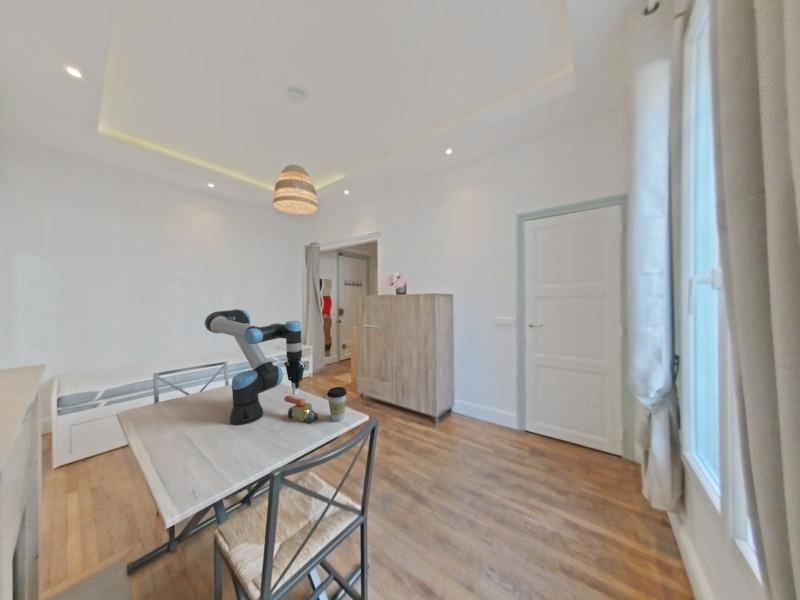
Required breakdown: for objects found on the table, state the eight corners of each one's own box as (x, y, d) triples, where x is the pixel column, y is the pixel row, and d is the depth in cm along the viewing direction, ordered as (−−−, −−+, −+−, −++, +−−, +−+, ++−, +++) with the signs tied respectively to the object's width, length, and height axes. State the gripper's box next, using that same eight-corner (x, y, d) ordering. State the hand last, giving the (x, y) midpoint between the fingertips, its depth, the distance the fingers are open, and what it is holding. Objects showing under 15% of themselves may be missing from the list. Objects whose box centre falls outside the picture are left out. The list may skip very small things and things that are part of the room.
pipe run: (287, 419, 141) (286, 404, 141) (295, 413, 147) (295, 400, 146) (310, 425, 135) (309, 410, 134) (318, 419, 140) (318, 405, 139)
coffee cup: (343, 424, 134) (342, 394, 133) (324, 422, 136) (323, 393, 135) (350, 414, 144) (349, 387, 143) (333, 413, 145) (332, 385, 145)
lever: (306, 404, 141) (306, 398, 141) (302, 406, 138) (301, 401, 138) (287, 399, 147) (287, 394, 147) (282, 401, 144) (282, 396, 144)
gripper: (279, 350, 143) (281, 394, 144) (297, 353, 137) (299, 398, 139) (290, 347, 150) (292, 389, 151) (308, 349, 144) (310, 393, 146)
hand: (295, 393), depth 145 cm, fingers closed
